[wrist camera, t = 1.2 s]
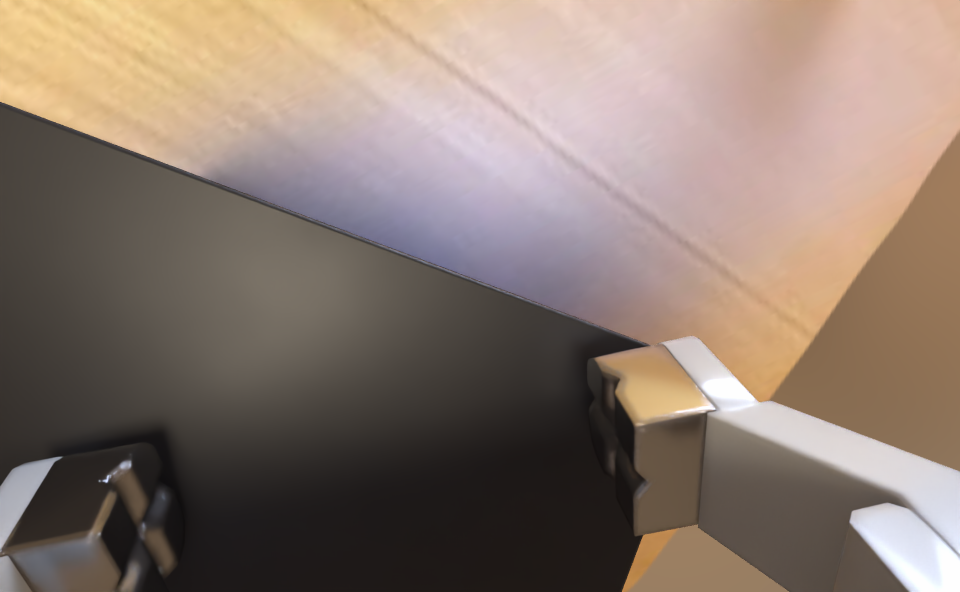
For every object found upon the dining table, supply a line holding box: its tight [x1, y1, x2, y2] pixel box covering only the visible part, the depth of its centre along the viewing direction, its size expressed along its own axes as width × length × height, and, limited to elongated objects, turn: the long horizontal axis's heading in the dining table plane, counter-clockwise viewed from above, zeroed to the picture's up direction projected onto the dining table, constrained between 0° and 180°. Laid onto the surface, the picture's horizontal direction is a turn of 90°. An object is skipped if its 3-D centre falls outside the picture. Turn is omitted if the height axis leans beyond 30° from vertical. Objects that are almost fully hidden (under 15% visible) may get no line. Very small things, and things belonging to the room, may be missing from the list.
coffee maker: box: [0, 102, 652, 592], centre depth 20 cm, size 19×14×24 cm
